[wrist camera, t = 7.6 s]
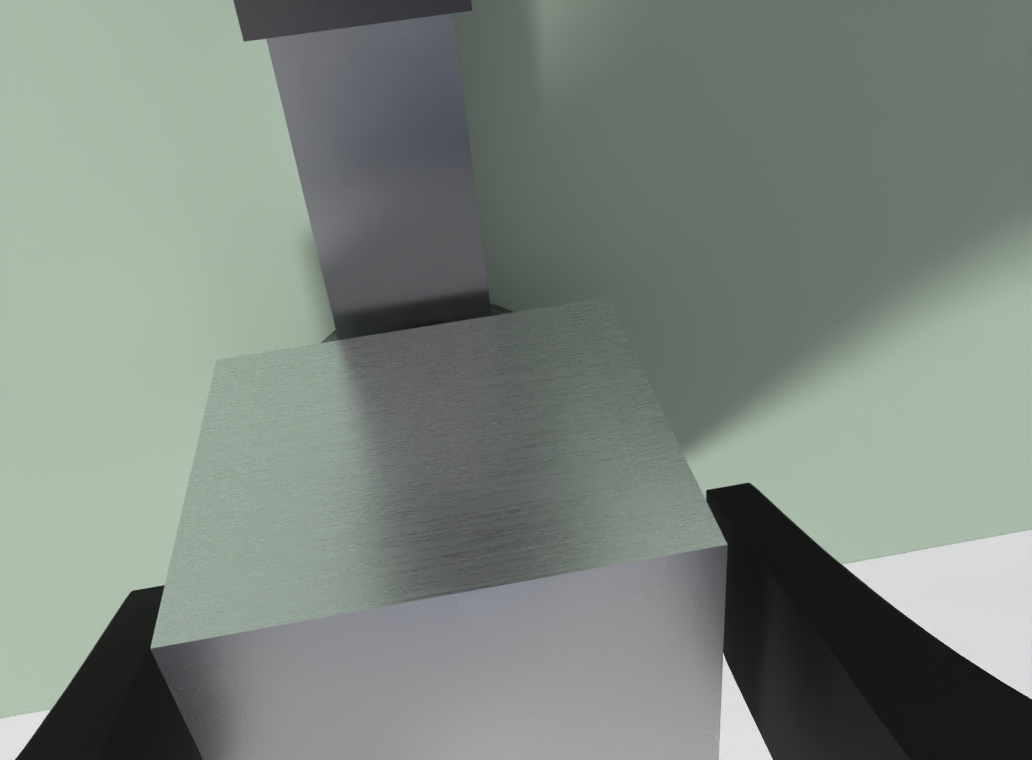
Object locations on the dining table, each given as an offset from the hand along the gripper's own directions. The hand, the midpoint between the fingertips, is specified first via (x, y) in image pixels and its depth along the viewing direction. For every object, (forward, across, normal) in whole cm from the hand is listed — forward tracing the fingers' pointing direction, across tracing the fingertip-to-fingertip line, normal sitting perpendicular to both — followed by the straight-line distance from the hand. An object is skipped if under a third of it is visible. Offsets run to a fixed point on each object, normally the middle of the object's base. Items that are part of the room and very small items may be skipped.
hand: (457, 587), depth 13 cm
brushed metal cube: (+2, 0, 0) cm, 2 cm away
